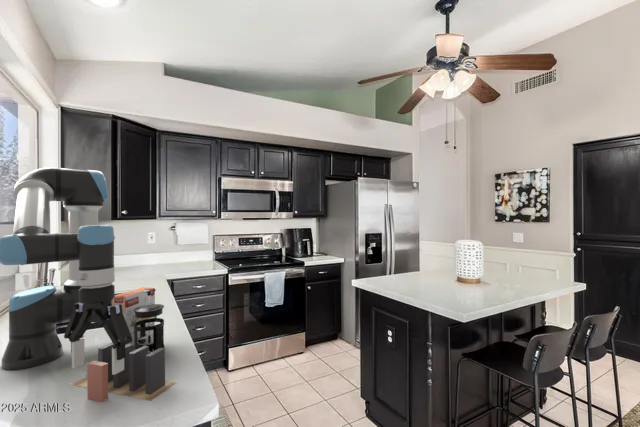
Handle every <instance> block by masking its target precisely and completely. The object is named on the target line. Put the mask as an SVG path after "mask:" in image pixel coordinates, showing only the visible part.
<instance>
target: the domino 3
mask: <svg viewBox="0 0 640 427" xmlns="http://www.w3.org/2000/svg"><path fill="white" fill-rule="evenodd" d="M149 353H150V351H149V346H143V347H141V348H139V349H136V350H134V351H132V352H130V353H129V391H133V392H134V391H136V390H137V389H139V388H141V387H142V386H144V385H145V384H146V381H145V355H147V354H149Z"/></svg>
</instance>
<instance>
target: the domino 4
mask: <svg viewBox="0 0 640 427" xmlns="http://www.w3.org/2000/svg"><path fill="white" fill-rule="evenodd" d="M165 380H166V348H165V347H164V348H159V349H157V350H155V351H153V350H152V351H151V352H149V354H147V355H145V381H146V394H149V395H151V394H153V393H154V392H155V391H157V390H158V389H160V388H161V387H163V386H164V385H165Z"/></svg>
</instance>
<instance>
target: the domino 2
mask: <svg viewBox="0 0 640 427" xmlns="http://www.w3.org/2000/svg"><path fill="white" fill-rule="evenodd" d="M132 351H134V344H127V345H125V358H124V370H123V371H121V372H119V373H117V374H115V375H113V388H120V387H121V386H123V385H125V384H127V383H128V382H129V353H130V352H132Z"/></svg>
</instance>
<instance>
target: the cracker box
mask: <svg viewBox="0 0 640 427" xmlns="http://www.w3.org/2000/svg"><path fill="white" fill-rule="evenodd" d="M146 289H156V288H155V287H147V286H146V287H144V286H142V287H139V288H136V289H132V290H128V291H125V292H122V293H118V294H115V297H114V298H113V299H112V300H111V304H112V306H116V305H119V304H121V305H122V311H123V315H124V318H125V321H126V323H127V326H128V328H129V331H130V334H131V336H132V339H133V341H132V342H130V343H128V344H134V324H135V323H136V322H138V321H141V320H145V319H149V318H137V317H135V312H134V309H135V308H137V307H140V306H144V305H148V296H147V292H142V291H143V290H146ZM155 299H156V292H155V291H153V292H151V295H150V305H151V304H156V302H155V301H156V300H155ZM151 318H156V316H155V317H150V319H151ZM155 323H156V322H150V326H154V325H156V324H155ZM145 324H146V327H148V326H149V323H145ZM137 327H140V325H138V326H137ZM147 335H149V331H146V336H147ZM150 335H153V330H150ZM138 338H140V331H137V339H138ZM126 339H127V338H126ZM118 341H119V340H118ZM126 345H127V344H126ZM138 347H140V346H138V345H137V348H138Z"/></svg>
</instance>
